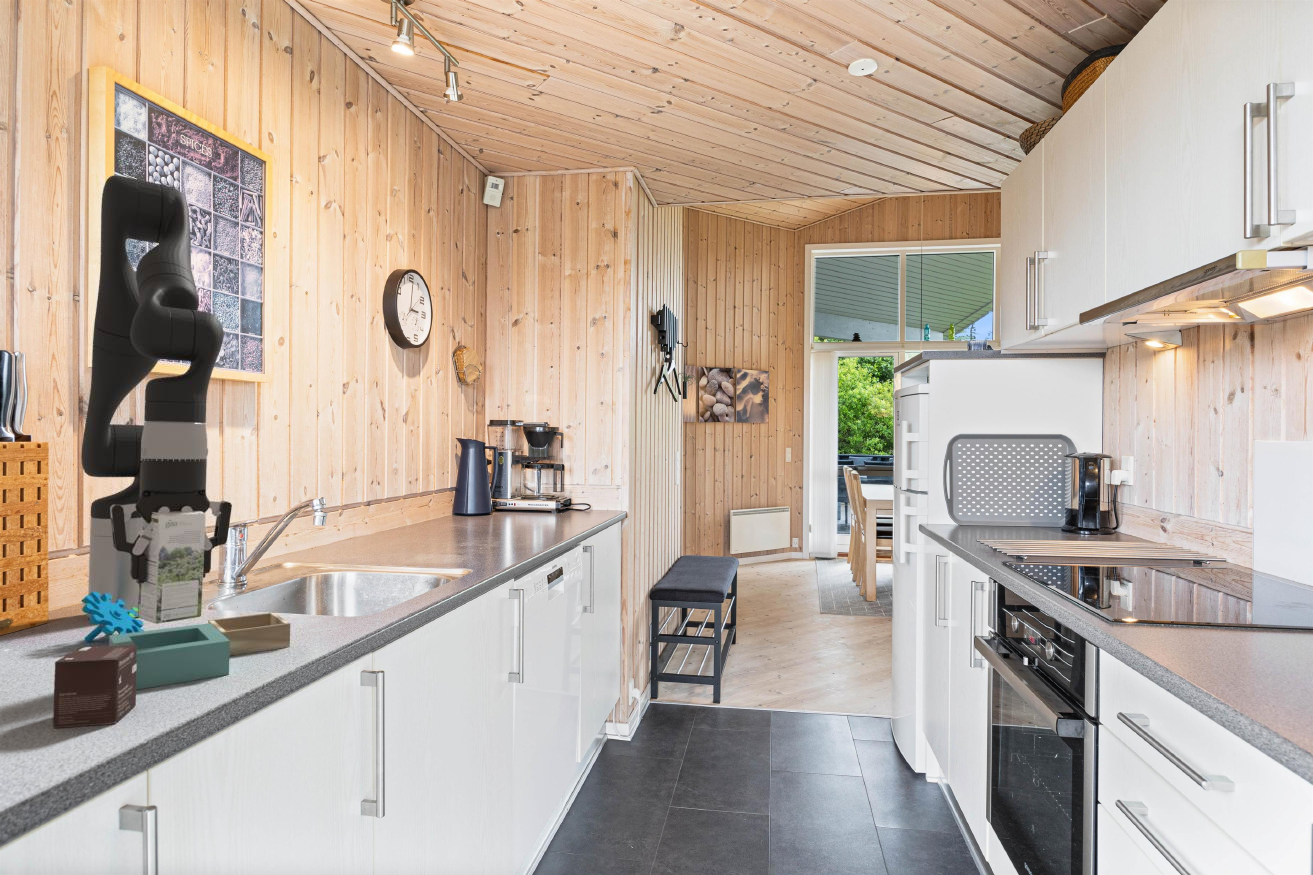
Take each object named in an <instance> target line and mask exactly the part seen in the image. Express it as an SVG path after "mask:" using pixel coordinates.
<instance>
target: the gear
mask: <svg viewBox="0 0 1313 875" xmlns="http://www.w3.org/2000/svg"><path fill="white" fill-rule="evenodd" d="M100 596H101V595H100V594H99V593H98V592H95V591H92V592H91V593H90V594H89V595H86V596H85V597H83V599H81V602H82V603H83V604H84V605H83V607H82V608H81V610H82V612H83V613H85V614H87V615H88V614H91V615H92V616H91V617H90V618H88V619H89V620H88V621H89V622H90V623H91V624H92V625H94V626H96V625H97V626H96V627H95V628H94V629H93V630H92V631H90V632H89V633H88V634H87V635H86V636H85V637H84V641H85V642H87V643H90V642H92V641H93V640H95V639H96V638H97V637H98V636H99V635H100V634H102V633H103V634H104V635H106V636H110V635H114V633H116V632H117V633H118V634H126V633H134V632H142V631H145V630H144V629H143V628H142V627H143V626H144V621H143V620H142V619H138V618H136V617H135V616H136V615H137V612H138V609H137V608H136V607H132V608H131V609H130V610H126V609H123V608H122V607H124V606H125V605H126V604H125V603H124V602H123V601H122V600H121V599H119V600H117V601H116V602H115V603H111V602H110V601H109V600H110V599H112V596H111V595H110V594H108V593H104V594H103V595H102V596H101V597H100ZM100 598H101V599H100Z"/></svg>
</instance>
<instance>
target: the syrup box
mask: <svg viewBox="0 0 1313 875" xmlns="http://www.w3.org/2000/svg"><path fill="white" fill-rule="evenodd" d="M152 513H153V514H152V516H151V520H152V519H153V529H151V531H153V537H152V540H150V542H149V543H148V545H147V546H146V548H145V550H144V551H143V554H144V555H145V581H144V583H140V584H139V598H138V618H139V619H140V620H142V621H143V620H144V621H146V622H149V623H153V624H157V625H158V624H163V623H170V622H178V621H182V620H190V619H196V618H200V617H202V612H203V610H202V609H203V607H202V606H203V586H204V585H203V584H204V582H203V581H204V578H203V563H204V541H205V533H206V513H203V512H201V511H193V512H190V513H182V512H181V511H173V512H169V513H157V512H152ZM148 525H149V524H148V523H147V522H146V521H145V520H144V519H143V518H142V520H141V528H142V527H143V528H144V530H145V529H146V528H147V526H148Z"/></svg>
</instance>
